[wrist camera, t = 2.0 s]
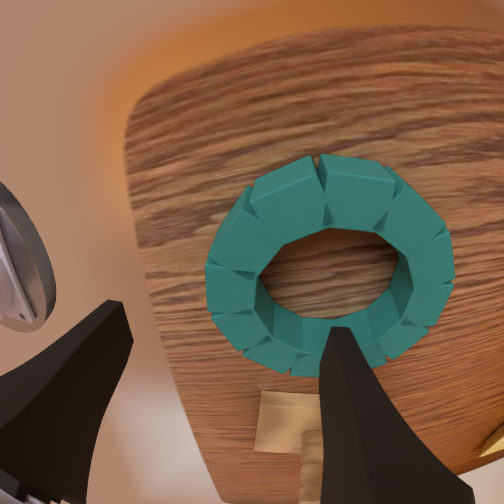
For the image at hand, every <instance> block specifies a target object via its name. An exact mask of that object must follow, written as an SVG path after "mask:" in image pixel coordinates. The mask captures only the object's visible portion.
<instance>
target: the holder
mask: <svg viewBox="0 0 504 504" xmlns="http://www.w3.org/2000/svg"><path fill="white" fill-rule="evenodd" d="M254 451H263V452H277V453H298V454H301V461H300V487H299V504H320V498H321V487H322V474H323V436H322V423H321V411H320V399H319V394H303V393H286V392H273V391H261V398H260V406H259V413H258V421H257V428H256V436H255V444H254Z"/></svg>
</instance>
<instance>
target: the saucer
mask: <svg viewBox="0 0 504 504" xmlns="http://www.w3.org/2000/svg"><path fill="white" fill-rule="evenodd" d="M502 449H504V424H503V425H502V426H501V427H500V428H499V429H498V430H497V431H496V432H495V433H494V434H492V435H491V436H490V437H489V438H488V439H487V440H486V442H485V443H484V445H483V447H482V449H481V451H480V454H479V457H482V456H485V455H488V454H491V453H494V452H496V451H499V450H502Z"/></svg>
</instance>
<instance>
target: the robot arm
mask: <svg viewBox="0 0 504 504" xmlns="http://www.w3.org/2000/svg"><path fill="white" fill-rule="evenodd" d="M4 315H7V316H9V317H12V318H15V319H18V320H21V321H24V322H27V323H33V322H34V321H35V315H34V313H33V311H32V309H31V307H30V305H29V302H28V300H27V298H26V296H25V293H24V291H23V289H22V286H21V284H20V281H19V279H18V277H17V274H16V271H15V269H14V266H13V264H12V261H11V258H10V255H9V253H8V250H7V247H6V244H5V241H4V238H3V235H2V232H1V228H0V320H1V318H2V317H3V316H4ZM133 341H134V340H133V337H132V334H131V330H130V327H129V324H128V320H127V317H126V314H125V310H124V306H123V303H122V302H119V301H113V300H107V301H105V302H104V303H103V304H101V305H100V306H99V307H98V308H96V309H95V310H94V311H93V312H92V313H90V314H89V315H88V316H87V317H86V318H84V319H83V320H82V321H80V322H79V323H78V324H77V325H76V326H74V327H73V328H72V329H71V330H69V331H68V332H67V333H66V334H64V335H63V336H62V337H61V338H59V339H58V340H57V341H55V342H54V343H53V344H51V345H50V346H49V347H47V348H46V349H45V350H43V351H42V352H40V353H39V354H38V355H36V356H35V357H33V358H32V359H30V360H29V361H27V362H25V363H24V364H22V365H20V366H19V367H17V368H15V369H13V370H11V371H10V372H8V373H6V374H4V375H2V376H0V504H50V502H51V500H52V501H54V502H56V503H58V504H60V503H61V500H64V501H66V502H68V503H70V504H86V497H87V486H88V478H89V472H90V466H91V459H92V455H93V451H94V447H95V443H96V439H97V435H98V432H99V428H100V425H101V421H102V419H103V416H104V413H105V411H106V408H107V406H108V404H109V402H110V400H111V397H112V395H113V393H114V391H115V388H116V386H117V384H118V382H119V380H120V377H121V375H122V373H123V371H124V369H125V366H126V364H127V361H128V357H129V355H130V352H131V348H132V345H133ZM319 399H320V411H321V423H322V436H323V474H322V487H321V498H320V504H475V497H474V493H473V489H472V488H471V487H470V486H469V485H467V484H466V483H465V482H464V481H462V480H461V479H460V478H459V477H458V476H456V475H455V474H454V473H453V472H451V471H450V470H449V469H448V468H447V467H446V466H445V465H444V464H443V463H442V462H441V461H440V460H439V459H438V458H437V457H436V456H435V455H434V454H433V453H432V452H431V451H430V450H429V449H428V448H427V447H426V446H425V445H424V443H423V442H422V441H421V440H420V439H419V438H418V437H417V436H416V434H415V433H414V432H413V431H412V429H411V428H410V427H409V426H408V424H407V423H406V422H405V420H404V419H403V418H402V416H401V415H400V414H399V412H398V411H397V409H396V408H395V407H394V405H393V404H392V402H391V401H390V399H389V397H388V396H387V394H386V393H385V391H384V390H383V388H382V386H381V385H380V383H379V381H378V380H377V378H376V376H375V374H374V373H373V371H372V369H371V367H370V366H369V364H368V362H367V360H366V358H365V356H364V355H363V353H362V351H361V349H360V347H359V345H358V343H357V341H356V339H355V337H354V335H353V333H352V331H351V329H350V328H349V327H337V326H331V328H330V332H329V335H328V338H327V342H326V345H325V348H324V351H323V354H322V358H321V361H320V364H319Z"/></svg>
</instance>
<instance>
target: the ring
mask: <svg viewBox="0 0 504 504" xmlns="http://www.w3.org/2000/svg"><path fill="white" fill-rule="evenodd" d="M445 226H446V223H445V222H444V221H443V220H442V219H441V217H440V216H439V215H438V214H437V213H436V212H435V211H434V210H433V208H432V207H431V206H430V205H429V204H428V203H427V202H426V201H425V200H424V199H423V198H422V197H421V196H420V195H419V194H418V193H417V192H416V191H415V190H414V189H413V188H412V187H411V186H410V185H409V184H407V183H406V182H405V181H404V180H403V179H402V178H401V177H400V176H399V175H398V174H396V173H395V172H394V171H393V170H392V169H391V168H390V167H388V166H386V167H385V168H384V167H383V166H382V165H381V164H380V163H379V162H377V161H371V160H365V159H358V158H351V157H344V156H336V155H328V154H321V155H320V159H319V168H318V170H317V168H316V166H315V163H314V161H313V159H312V157H311V156H307V157H304V158H302V159H300V160H297V161H295V162H293V163H290V164H288V165H286V166H284V167H281V168H279V169H277V170H274V171H272V172H270V173H268V174H266V175H263V176H261V177H259V178H257V179H256V180H255V184H254V187H253V188H252V187H251V186H249V185H248V186H247V187H246V188H245V190H244V191H243V193H242V194H241V196H240V197H239V199H238V200H237V202H236V203H235V204H234V206H233V207H232V209H231V210H230V212H229V213H228V215H227V216H226V218H225V219H224V221H223V222H222V224H221V225H220V227H219V229H218V231H217V234H216V236H215V239H214V241H213V244H212V246H211V249H210V251H209V254H208V260H207V262H206V265H205V276H206V294H207V310H208V311H209V312H212V316H211V319H212V320H213V322H214V323H215V324H216V326H217V327H218V328H219V329H220V331H221V332H222V333H223V334H224V336H225V337H226V338H227V339H228V341H229V342H230V343H231V344H232V345H233V347H234V348H235V349H236V350H237V351H241V350H244V353H243V356H244V357H246V358H248V359H250V360H253V361H255V362H257V363H259V364H261V365H264V366H266V367H268V368H270V369H273V370H275V371H277V372H279V373H282V374H284V373H285V372H287V371H288V370H289V369H290V375H291V376H302V377H319V364H320V361H321V358H322V354H323V351H324V348H325V345H326V342H327V338H328V335H329V332H330V328H331V326H337V327H349V328H350V329H351V331H352V333H353V335H354V337H355V339H356V341H357V343H358V345H359V347H360V349H361V351H362V353H363V355H364V356H365V358H366V360H367V362H368V364H369V366H370V367H371V369H372V368H375V367H378V366H381V365H384V364H387V360H386V356H388V357H389V358H391V359H396V358H397V357H398V356H400V355H401V354H402V353H403V352H405V351H406V350H407V349H409V348H410V347H411V346H412V345H414V344H415V343H416V342H418V341H419V340H420V339H421V338H422V337H424V336H425V335H426V334H427V333H428V332H429V330H428V327H427V326H435V324H436V322H437V320H438V318H439V316H440V314H441V312H442V310H443V308H444V306H445V304H446V302H447V300H448V298H449V296H450V294H451V292H452V290H453V287H454V285H453V283H452V282H451V280H453V279H455V269H454V260H453V251H452V244H451V237H450V232H449V231H448V230H447V228H446V227H445ZM327 228H338V229H347V230H357V231H366V232H375V233H377V234H378V235H379V236H381V237H382V238H383V239H384V240H386V241H387V242H388V243H389V244H391V245H392V246H393V247H395V248H396V250H397V254H398V258H399V259H398V262H397V265H396V268H395V271H394V274H393V277H392V280H391V283H390V285H389V288H388V289H387V290H386V291H385V292H384V293H383V294H382V295H380V296H379V297H378V298H377V299H376V300H375V301H374V302H373V303H372V304H371V305H370V306H368V307H367V308H366V309H364V310H361V311H358V312H355V313H352V314H349V315H346V316H343V317H340V318H337V319H319V318H305V317H301V316H299V315H297V314H295V313H293V312H291V311H289V310H288V309H286V308H284V307H282V306H280V305H278V304H277V303H275V302H274V301H273V299H272V298H271V296H270V294H269V293H268V291H267V290H266V288H265V286H264V285H263V283H262V281H261V280H260V278H259V276H260V273H261V272H262V271H263V270H264V268H265V267H266V266H267V265H268V264H269V262H270V261H271V260H272V259H273V258H274V256H275V255H276V254H277V253H278V252H279V250H280V249H281V248H282V247H283V246H284V245H285V244H288V243H291V242H293V241H296V240H298V239H301V238H303V237H306V236H309V235H311V234H314V233H316V232H319V231H322V230H324V229H327ZM385 355H386V356H385Z"/></svg>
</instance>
